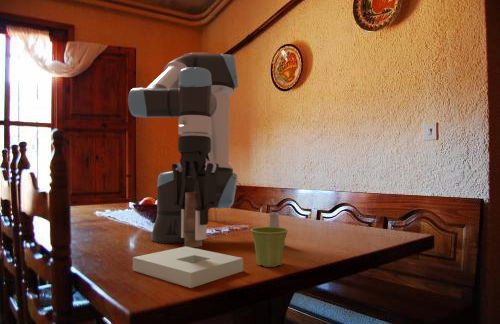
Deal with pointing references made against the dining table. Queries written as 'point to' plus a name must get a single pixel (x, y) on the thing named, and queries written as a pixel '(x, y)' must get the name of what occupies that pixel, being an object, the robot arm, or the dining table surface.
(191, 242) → the peg
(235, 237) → the dining table surface
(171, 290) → the dining table surface
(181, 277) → the board
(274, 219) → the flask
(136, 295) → the dining table surface
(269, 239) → the plant pot
